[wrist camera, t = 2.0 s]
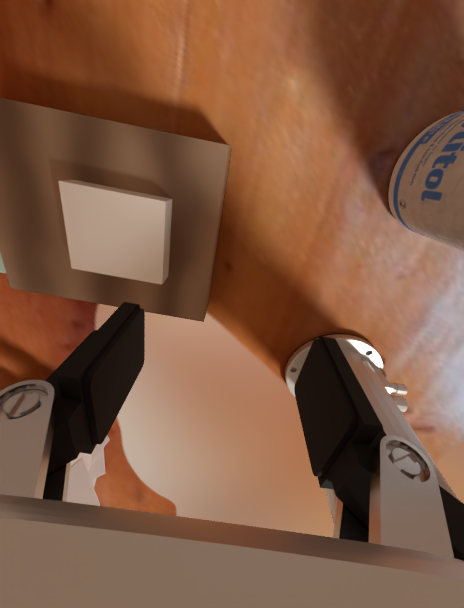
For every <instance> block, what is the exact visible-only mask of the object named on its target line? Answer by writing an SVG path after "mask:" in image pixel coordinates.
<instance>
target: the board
mask: <svg viewBox="0 0 464 608" xmlns="http://www.w3.org/2000/svg"><path fill="white" fill-rule="evenodd" d="M231 150H232V149H231V148H230V146H229V145H226V144H221V143H216V142H211V141H207V140H202V139H197V138H192V137H187V136H183V135H178V134H173V133H168V132H163V131H159V130H154V129H149V128H144V127H139V126H135V125H130V124H125V123H120V122H115V121H111V120H106V119H101V118H96V117H91V116H87V115H82V114H77V113H72V112H67V111H63V110H58V109H53V108H48V107H43V106H39V105H34V104H29V103H24V102H19V101H15V100H10V99H5V98H0V253H1V256H2V260H3V263H4V267H5V270H6V274H7V277H8V280H9V284H10V287H11V288H12V289H18V290H24V291H30V292H35V293H41V294H47V295H53V296H58V297H64V298H70V299H76V300H82V301H87V302H93V303H99V304H105V305H111V306H116V307H120V306H121V305H122V303H124V302H129V303H134V304H139V305H140V308H142V309H144V311H145V312H151V313H157V314H162V315H169V316H174V317H179V318H185V319H191V320H197V321H204V318H205V315H206V311H207V307H208V303H209V297H210V290H211V283H212V277H213V270H214V263H215V257H216V250H217V243H218V237H219V230H220V223H221V217H222V210H223V203H224V197H225V190H226V183H227V177H228V170H229V163H230V157H231ZM61 180H78V181H83V182H88V183H94V184H99V185H104V186H109V187H114V188H119V189H124V190H129V191H134V192H139V193H145V194H150V195H155V196H160V197H165V198H170V199H172V217H171V235H170V254H169V272H168V277H167V279H166V280H165V281H164V283H163V284H162V285H161V284H156V283H150V282H145V281H139V280H133V279H128V278H122V277H117V276H111V275H105V274H100V273H94V272H89V271H83V270H78V269H72V268H71V262H70V255H69V248H68V242H67V235H66V228H65V222H64V215H63V209H62V202H61V195H60V189H59V182H58V181H61Z"/></svg>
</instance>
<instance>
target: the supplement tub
mask: <svg viewBox="0 0 464 608" xmlns="http://www.w3.org/2000/svg"><path fill="white" fill-rule="evenodd" d="M388 196H389V206H390V209H391V212H392V214H393V216H394V218H395V219H396V220H397V221H398V222H399V223H400V224H401V225H402V226H403V227H405V228H407V229H408V230H411V231H413V232H416V233H418V234H421V235H423V236H426V237H428V238H431V239H433V240H436V241H438V242H441V243H443V244H446V245H448V246H451V247H454V248H456V249H459V250H461V251H464V111H459V112H456V113H453V114H450V115H448V116H446V117H443V118H441V119H440V120H438V121H436V122H434V123H433V124H431V125H430V126H428V127H427V128H426V129H424V130H423V131H422V132H421V133H420V134H419V135H418V136H417V137H416V138H415V139H414V140H413V141H412V142H411V143H410V144H409V145H408V146H407V148H406V149H405V150H404V152H403V153H402V155H401V156H400V158H399V160H398V161H397V163H396V165H395V168H394V170H393V173H392V176H391V180H390V185H389V193H388Z"/></svg>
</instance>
